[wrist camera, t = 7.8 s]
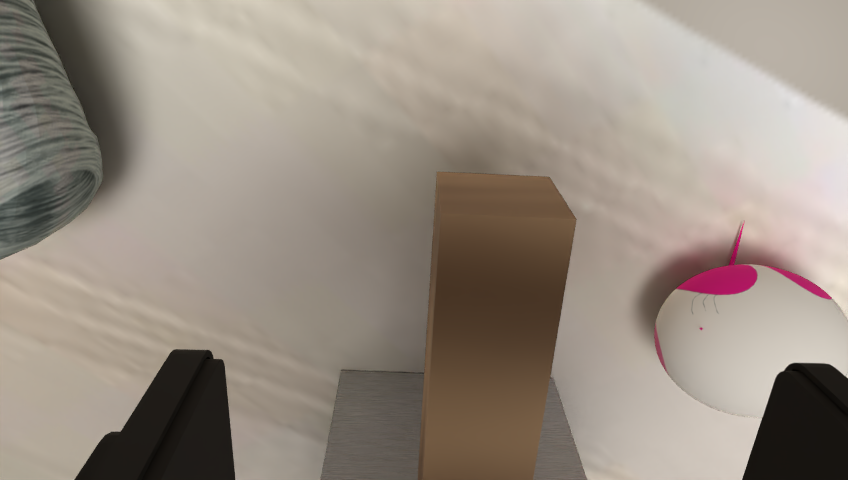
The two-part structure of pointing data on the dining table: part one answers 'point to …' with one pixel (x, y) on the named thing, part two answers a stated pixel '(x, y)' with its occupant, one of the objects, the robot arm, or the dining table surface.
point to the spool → (39, 135)
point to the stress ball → (746, 333)
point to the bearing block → (417, 431)
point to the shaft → (491, 323)
